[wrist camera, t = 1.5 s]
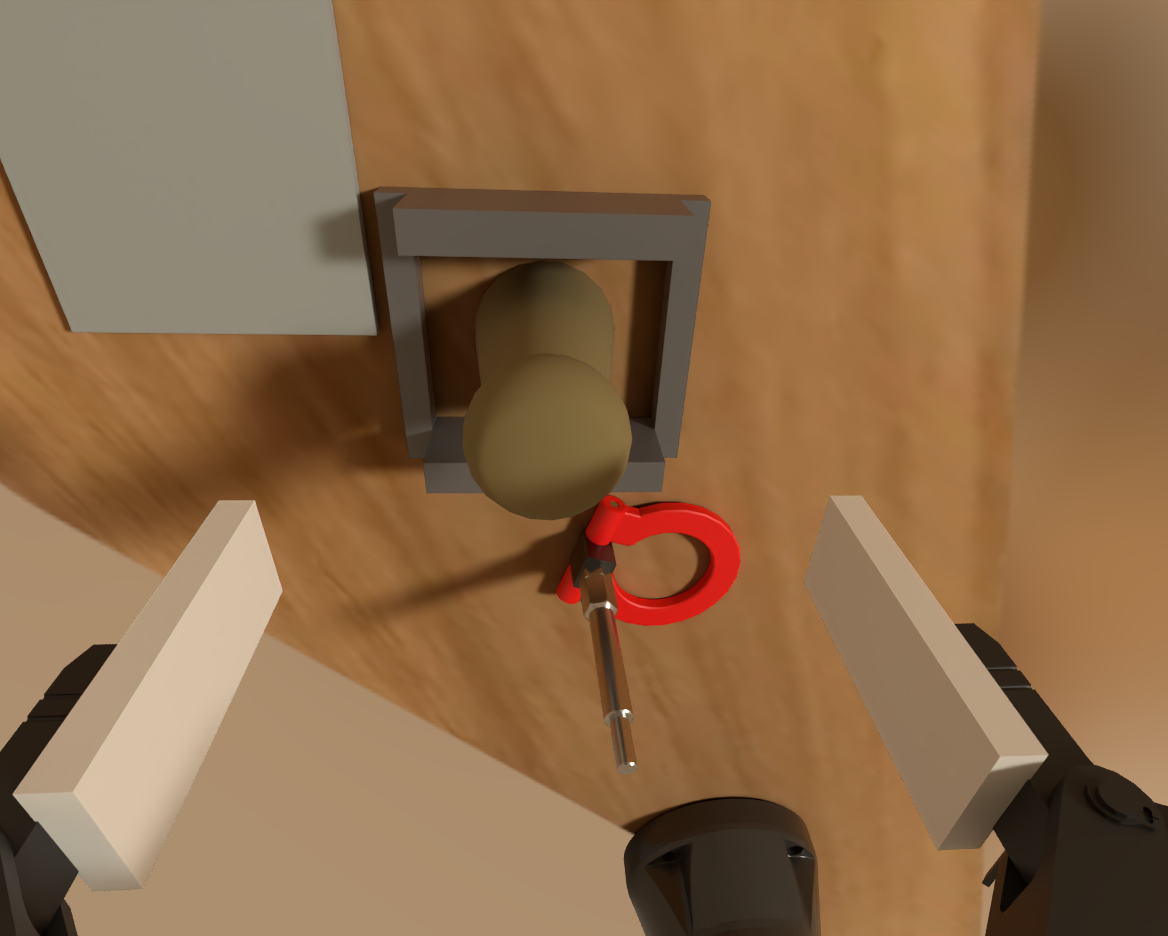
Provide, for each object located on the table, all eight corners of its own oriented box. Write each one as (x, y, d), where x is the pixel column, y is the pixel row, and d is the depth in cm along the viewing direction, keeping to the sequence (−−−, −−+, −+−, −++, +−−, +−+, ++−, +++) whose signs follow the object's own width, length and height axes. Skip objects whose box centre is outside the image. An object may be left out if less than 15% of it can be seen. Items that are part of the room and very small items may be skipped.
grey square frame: (672, 444, 31) (688, 491, 28) (413, 444, 30) (397, 493, 27) (703, 195, 25) (730, 216, 22) (380, 186, 24) (354, 207, 21)
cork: (449, 291, 26) (402, 416, 17) (587, 238, 26) (616, 340, 16) (507, 412, 30) (494, 573, 20) (631, 369, 29) (676, 515, 19)
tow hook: (761, 518, 34) (605, 475, 32) (877, 732, 24) (655, 695, 21) (692, 622, 39) (548, 593, 36) (764, 845, 28) (566, 826, 25)
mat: (379, 330, 27) (376, 335, 27) (81, 326, 26) (72, 332, 26) (328, -27, 21) (322, -29, 20) (-70, -47, 20) (-87, -49, 19)
